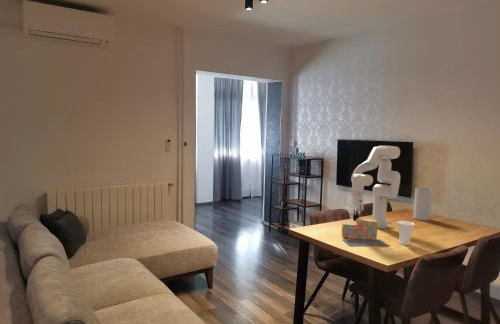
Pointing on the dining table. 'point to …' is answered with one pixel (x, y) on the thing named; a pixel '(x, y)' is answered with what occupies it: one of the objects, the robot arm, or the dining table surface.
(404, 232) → the cup
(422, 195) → the cylinder vase
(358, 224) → the stack of blocks
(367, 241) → the rubber mat
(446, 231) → the dining table surface
